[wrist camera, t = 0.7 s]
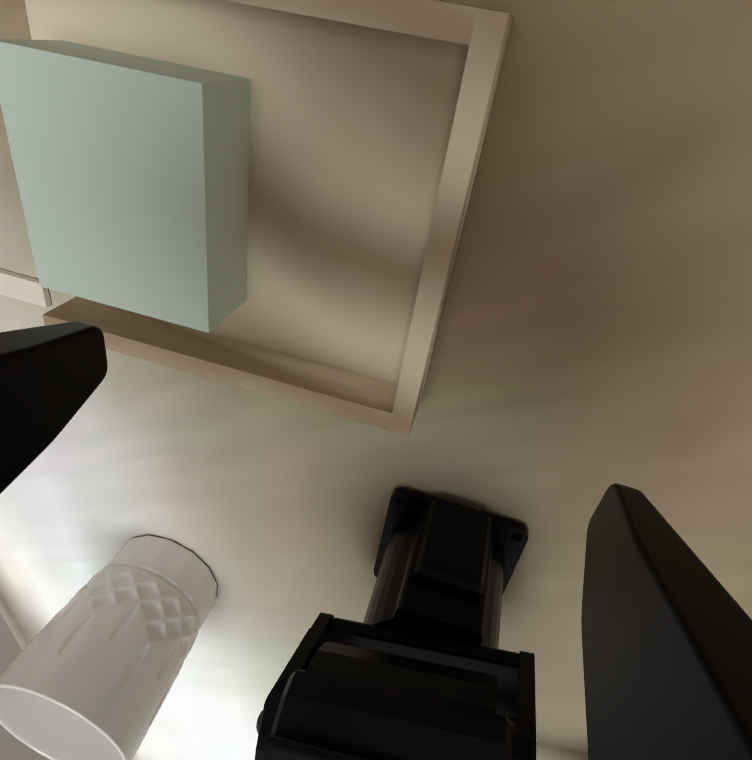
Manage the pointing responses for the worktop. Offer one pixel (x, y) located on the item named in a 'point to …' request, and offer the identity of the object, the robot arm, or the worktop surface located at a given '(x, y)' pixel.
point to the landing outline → (23, 288)
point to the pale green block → (131, 177)
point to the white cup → (109, 655)
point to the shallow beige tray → (322, 185)
